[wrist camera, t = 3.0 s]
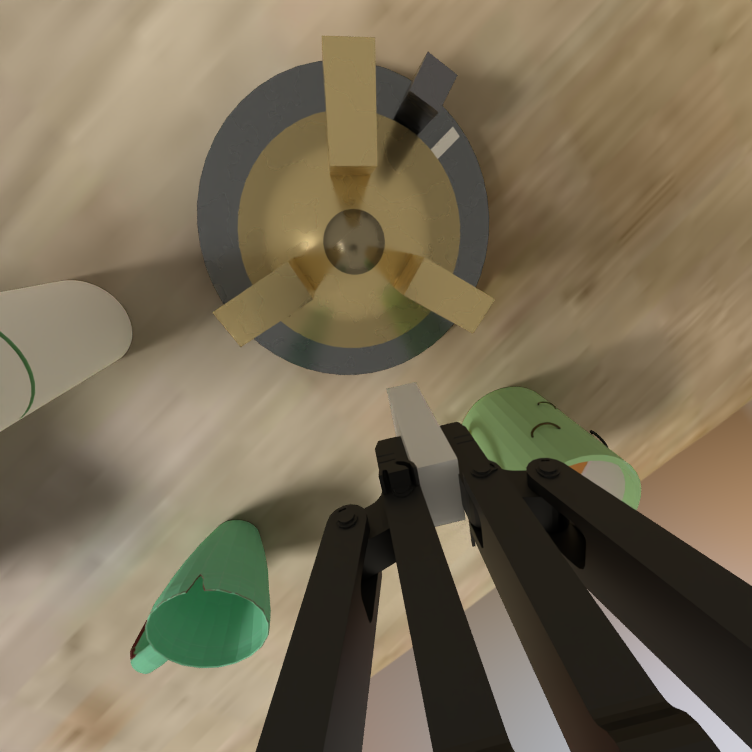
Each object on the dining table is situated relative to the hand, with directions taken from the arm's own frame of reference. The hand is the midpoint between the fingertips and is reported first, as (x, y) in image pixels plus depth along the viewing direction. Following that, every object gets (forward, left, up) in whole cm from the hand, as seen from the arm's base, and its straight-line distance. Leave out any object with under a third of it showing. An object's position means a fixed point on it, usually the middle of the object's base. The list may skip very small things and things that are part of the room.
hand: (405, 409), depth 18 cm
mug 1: (-3, -29, -15) cm, 33 cm away
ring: (-5, +6, -15) cm, 17 cm away
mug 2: (+17, -3, -15) cm, 23 cm away
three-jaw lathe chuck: (-4, +6, -13) cm, 15 cm away
